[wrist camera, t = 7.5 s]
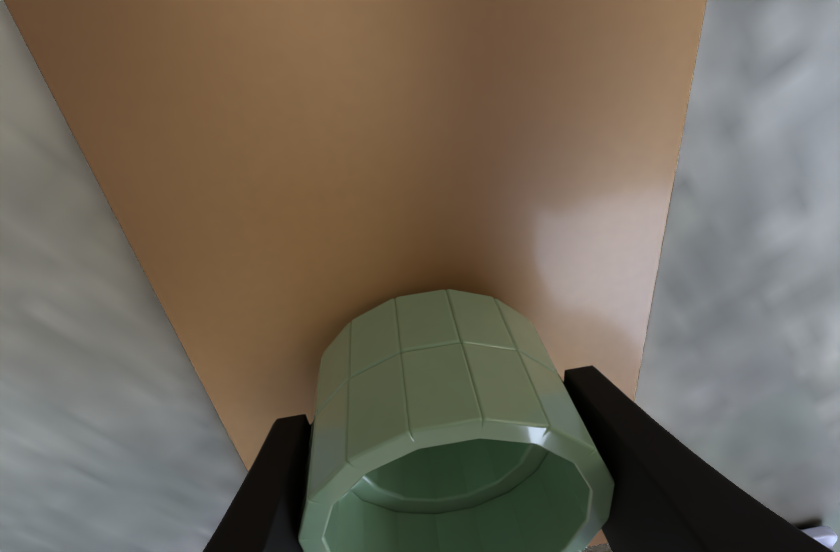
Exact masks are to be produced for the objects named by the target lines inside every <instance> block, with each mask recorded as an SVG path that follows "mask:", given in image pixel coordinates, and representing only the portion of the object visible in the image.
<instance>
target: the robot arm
mask: <svg viewBox="0 0 840 552" xmlns="http://www.w3.org/2000/svg"><path fill="white" fill-rule="evenodd" d="M564 383H565V385H566V387H567V389H568V391H569V393H570V395H571V397H572V399H573V401H574V403H575V405H576V407H577V408H578V410H579V412H580V414H581V416H582V418H583V420H584V422H585V424H586V426H587V428H588V430H589V432H590V434H591V436H592V438H593V440H594V441H595V443H596V445H597V447H598V449H599V451H600V453H601V455H602V457H603V459H604V461H605V463H606V465H607V467H608V469H609V471H610V472H611V474H612V476H613V478H614V483H615V487H614V493H613V498H612V504H611V510H610V516H609V518H608V521H607V522H606V523H605V524H604V526H603V527H602V528H601V529H602V531H603V533H604V535H605V537H606V539H607V541H608V543H609V546H610V548H611V550H612V552H835V551H834V550H833V549H832V546H833V545H834V543H835V542H836V540H837V535H836V534H835V533H834V531H833V530H832V529H831V528H830V527H827V526H820V527H814V528H808V529H803V530H800V529H798V528H796V527H795V526H793V525H792V524H791V523H789V522H788V521H786V520H785V519H783V518H782V517H780V516H779V515H777V514H776V513H774V512H773V511H771V510H770V509H768V508H767V507H766V506H764V505H763V504H761V503H760V502H759V501H757V500H756V499H754V498H753V497H751V496H750V495H749V494H747V493H746V492H745V491H743V490H742V489H740V488H739V487H738V486H736V485H735V484H734V483H732V482H731V481H730V480H728V479H727V478H726V477H724V476H723V475H722V474H720V473H719V472H718V471H717V470H715V469H714V468H713V467H711V466H710V465H709V464H707V463H706V462H705V461H704V460H702V459H701V458H700V457H698V456H697V455H696V454H695V453H693V452H692V451H691V450H690V449H688V448H687V447H686V446H685V445H684V444H682V443H681V442H680V441H679V440H678V439H676V438H675V437H674V436H673V435H672V434H670V433H669V432H668V431H667V430H665V429H664V428H663V427H662V426H661V425H659V424H658V423H657V422H656V421H655V420H654V419H652V418H651V417H650V416H649V415H648V414H647V413H646V412H644V411H643V410H642V409H641V408H640V407H639V406H638V405H636V404H635V403H634V402H633V401H632V400H631V399H630V398H629V397H627V396H626V395H625V394H624V393H623V392H622V391H621V390H620V389H619V388H618V387H616V386H615V385H614V384H613V383H612V382H611V381H610V380H609V379H608V378H607V377H605V376H604V375H603V374H602V373H601V372H600V371H599V370H598V369H597V368H595V367H594V366H593V365H591V366H585V367H579V368H573V369H567V370H565V372H564ZM309 429H310V424H309V422H308V419H307V416H306V414H301V415H296V416H290V417H284V418H278V419H276V421H275V422H274V423H273V425H272V427H271V429H270V431H269V433H268V435H267V437H266V439H265V441H264V443H263V445H262V447H261V449H260V451H259V453H258V455H257V457H256V459H255V461H254V463H253V465H252V466H251V468H250V470H249V472H248V474H247V476H246V478H245V480H244V481H243V483H242V485H241V487H240V489H239V490H238V492H237V494H236V496H235V498H234V499H233V501H232V503H231V505H230V506H229V508H228V510H227V512H226V514H225V515H224V517H223V519H222V521H221V522H220V524H219V526H218V527H217V529H216V531H215V532H214V534H213V536H212V537H211V539H210V541H209V542H208V544H207V545H206V547H205V549H204V550H203V552H303V550H302V547H301V545H300V543H299V541H298V536H297V534H298V525H299V516H300V508H301V499H302V490H303V481H304V472H305V463H306V455H307V449H308V438H309Z"/></svg>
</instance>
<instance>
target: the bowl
mask: <svg viewBox="0 0 840 552" xmlns="http://www.w3.org/2000/svg"><path fill="white" fill-rule="evenodd" d="M614 487H615V483H614V478H613V476H612V474H611V472H610V471H609V469H608V467H607V465H606V463H605V461H604V459H603V457H602V455H601V453H600V451H599V449H598V447H597V445H596V443H595V441H594V440H593V438H592V436H591V434H590V432H589V430H588V428H587V426H586V424H585V422H584V420H583V418H582V416H581V414H580V412H579V410H578V408H577V407H576V405H575V403H574V401H573V399H572V397H571V395H570V393H569V391H568V389H567V387H566V385H565V383H564V381H563V380H562V378H561V376H560V374H559V372H558V370H557V368H556V366H555V364H554V362H553V360H552V358H551V356H550V354H549V352H548V350H547V349H546V347H545V345H544V343H543V341H542V340H541V338H540V336H539V334H538V332H537V331H536V329H535V327H534V325H533V323H532V322H530V321H529V319H528V318H526V317H525V316H523V315H522V314H520V313H519V312H517V311H515V310H514V309H512V308H511V307H509V306H508V305H506V304H505V303H503V302H501V301H500V300H498V299H496V298H493V297H492V296H487V295H481V294H476V293H470V292H464V291H459V290H453V289H447V290H444V289H441V290H434V291H428V292H422V293H416V294H410V295H404V296H398V297H396V298H395V299H394V298H392V299H390V300H388V301H386V302H384V303H382V304H380V305H378V306H376V307H375V308H373V309H371V310H369V311H367V312H365V313H363V314H362V315H360V316H358V317H356V318H354V319H353V320H352V321H351V322H349V323H348V324H347V325H346V326H345V327H344V329H343V330H342V331H341V332H340V333H339V335H338V336H337V337H336V338H335V339H334V341H333V342H332V343H331V344H330V345H329V347H328V348H327V349H326V350H325V351H324V353H323V356H322V357H321V359H320V364H319V368H318V373H317V377H316V382H315V386H314V393H313V402H312V411H311V420H310V429H309V438H308V449H307V455H306V463H305V472H304V481H303V490H302V499H301V508H300V516H299V525H298V534H297V536H298V541H299V543H300V545H301V547H302V550H303V552H582V551H583V550H585V548H586V547H587V546H588V544H589V543H590V542H591V541H592V539H593V538H594V537H595V536H596V534H597V533H598V532H599V531H600V529H601V528H602V527H603V526H604V524H605V523H606V522H607V521H608V518H609V516H610V510H611V504H612V498H613V493H614Z"/></svg>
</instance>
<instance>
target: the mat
mask: <svg viewBox="0 0 840 552" xmlns="http://www.w3.org/2000/svg"><path fill="white" fill-rule="evenodd" d="M4 2H5V4H6V6H7V8H8V10H9V12H10V14H11V16H12V18H13V20H14V22H15V24H16V26H17V27H18V29H19V31H20V33H21V35H22V37H23V39H24V41H25V43H26V45H27V47H28V49H29V51H30V53H31V54H32V56H33V58H34V60H35V62H36V64H37V66H38V68H39V70H40V72H41V74H42V76H43V78H44V80H45V82H46V83H47V85H48V87H49V89H50V91H51V93H52V95H53V97H54V99H55V101H56V103H57V105H58V107H59V109H60V110H61V112H62V114H63V116H64V118H65V120H66V122H67V124H68V126H69V128H70V130H71V132H72V134H73V136H74V137H75V139H76V141H77V143H78V145H79V147H80V149H81V151H82V153H83V155H84V157H85V159H86V161H87V163H88V164H89V166H90V168H91V170H92V172H93V174H94V176H95V178H96V180H97V182H98V184H99V186H100V188H101V190H102V192H103V193H104V195H105V197H106V199H107V201H108V203H109V205H110V207H111V209H112V211H113V213H114V215H115V217H116V219H117V220H118V222H119V224H120V226H121V228H122V230H123V232H124V234H125V236H126V238H127V240H128V242H129V244H130V246H131V247H132V249H133V251H134V253H135V255H136V257H137V259H138V261H139V263H140V265H141V267H142V269H143V271H144V273H145V274H146V276H147V278H148V280H149V282H150V284H151V286H152V288H153V290H154V292H155V294H156V296H157V298H158V300H159V302H160V303H161V305H162V307H163V309H164V311H165V313H166V315H167V317H168V319H169V321H170V323H171V325H172V327H173V329H174V330H175V332H176V334H177V336H178V338H179V340H180V342H181V344H182V346H183V348H184V350H185V352H186V354H187V356H188V357H189V359H190V361H191V363H192V365H193V367H194V369H195V371H196V373H197V375H198V377H199V379H200V381H201V383H202V384H203V386H204V388H205V390H206V392H207V394H208V396H209V398H210V400H211V402H212V404H213V406H214V408H215V410H216V411H217V413H218V415H219V417H220V419H221V421H222V423H223V425H224V427H225V429H226V431H227V433H228V435H229V437H230V439H231V440H232V442H233V444H234V446H235V448H236V450H237V452H238V454H239V456H240V458H241V460H242V462H243V464H244V466H245V467H246V469H247V471H248V472H249V470H250V468H251V466H252V465H253V463H254V461H255V459H256V457H257V455H258V453H259V451H260V449H261V447H262V445H263V443H264V441H265V439H266V437H267V435H268V433H269V431H270V429H271V427H272V425H273V423H274V422H275V421H276V419H278V418H284V417H290V416H296V415H301V414H306V416H307V419H308V422H309V424H310V420H311V411H312V402H313V393H314V386H315V382H316V377H317V373H318V368H319V364H320V359H321V357H322V356H323V353H324V351H325V350H326V349H327V348H328V347H329V345H330V344H331V343H332V342H333V341H334V339H335V338H336V337H337V336H338V335H339V333H340V332H341V331H342V330H343V329H344V327H345V326H346V325H347V324H348V323H349V322H351V321H352V320H353V319H354V318H356V317H358V316H360V315H362V314H363V313H365V312H367V311H369V310H371V309H373V308H375V307H376V306H378V305H380V304H382V303H384V302H386V301H388V300H390V299H392V298H394V299H395V298H396V297H398V296H404V295H410V294H416V293H422V292H428V291H434V290H441V289H444V290H447V289H453V290H459V291H464V292H470V293H476V294H481V295H487V296H492V297H493V298H496V299H498V300H500V301H501V302H503V303H505V304H506V305H508V306H509V307H511V308H512V309H514V310H515V311H517V312H519V313H520V314H522V315H523V316H525V317H526V318H528V319H529V321H530V322H532V323H533V325H534V327H535V329H536V331H537V332H538V334H539V336H540V338H541V340H542V341H543V343H544V345H545V347H546V349H547V350H548V352H549V354H550V356H551V358H552V360H553V362H554V364H555V366H556V368H557V370H558V372H559V374H560V376H561V378H562V380H563V381H564V372H565V370H567V369H573V368H579V367H585V366H591V365H593V366H594V367H595V368H597V369H598V370H599V371H600V372H601V373H602V374H603V375H604V376H605V377H607V378H608V379H609V380H610V381H611V382H612V383H613V384H614V385H615V386H616V387H618V388H619V389H620V390H621V391H622V392H623V393H624V394H625V395H626V396H627V397H629V398H630V399H631V400H632V401H633V402H634V399H635V394H636V388H637V383H638V377H639V372H640V366H641V361H642V355H643V350H644V344H645V339H646V333H647V328H648V322H649V317H650V311H651V306H652V300H653V294H654V289H655V283H656V278H657V272H658V267H659V261H660V256H661V250H662V245H663V239H664V234H665V228H666V223H667V217H668V212H669V206H670V201H671V195H672V190H673V184H674V179H675V173H676V168H677V162H678V156H679V151H680V145H681V140H682V134H683V129H684V123H685V118H686V112H687V107H688V101H689V96H690V90H691V85H692V79H693V74H694V68H695V63H696V57H697V52H698V46H699V41H700V35H701V30H702V24H703V19H704V13H705V7H706V2H707V0H4ZM606 543H608V541H607V539H606V537H605V535H604V533H603V531H602V529H600V531H599V532H598V533H597V534H596V536H595V537H594V538H593V539H592V541H591V542H590V543H589V544H588V546H587V547H589V546H595V545H600V544H606Z"/></svg>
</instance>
